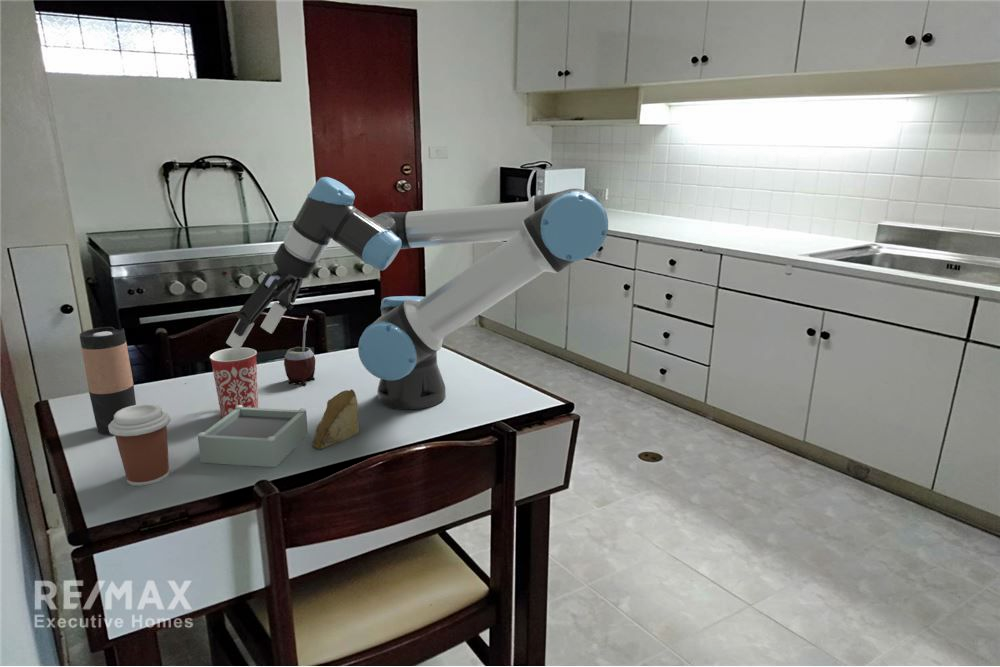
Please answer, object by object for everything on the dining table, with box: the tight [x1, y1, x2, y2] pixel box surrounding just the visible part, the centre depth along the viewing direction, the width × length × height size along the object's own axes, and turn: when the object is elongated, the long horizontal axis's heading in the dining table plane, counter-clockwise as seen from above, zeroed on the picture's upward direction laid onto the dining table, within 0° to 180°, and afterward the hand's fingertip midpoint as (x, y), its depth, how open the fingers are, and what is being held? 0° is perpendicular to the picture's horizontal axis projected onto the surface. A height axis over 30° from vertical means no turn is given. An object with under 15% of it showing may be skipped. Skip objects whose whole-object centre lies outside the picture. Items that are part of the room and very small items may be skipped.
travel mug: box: [79, 326, 137, 436], centre depth 129 cm, size 8×8×20 cm
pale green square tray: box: [197, 405, 309, 468], centre depth 122 cm, size 14×14×5 cm
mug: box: [209, 347, 259, 419], centre depth 138 cm, size 13×9×14 cm
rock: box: [311, 389, 360, 450], centre depth 126 cm, size 11×9×10 cm
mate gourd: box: [283, 315, 316, 387], centre depth 156 cm, size 8×8×15 cm
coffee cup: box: [108, 403, 171, 487], centre depth 111 cm, size 9×9×12 cm
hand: (250, 337), depth 133 cm, fingers open, 13 cm apart
